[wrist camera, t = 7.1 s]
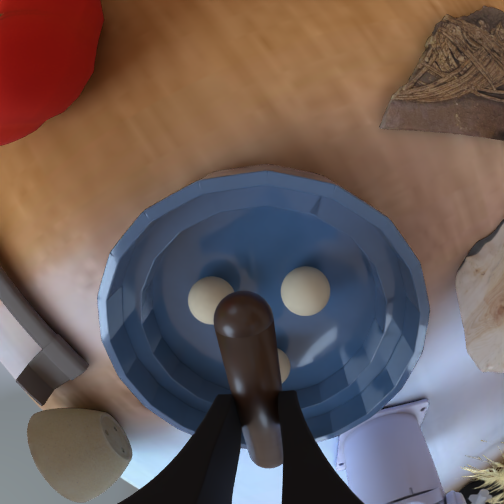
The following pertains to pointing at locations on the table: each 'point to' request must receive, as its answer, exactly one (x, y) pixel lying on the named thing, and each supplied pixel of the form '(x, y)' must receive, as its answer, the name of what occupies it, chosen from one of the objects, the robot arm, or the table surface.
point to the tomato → (44, 59)
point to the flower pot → (78, 450)
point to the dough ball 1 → (207, 297)
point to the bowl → (265, 295)
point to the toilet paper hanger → (53, 347)
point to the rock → (484, 301)
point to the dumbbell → (480, 492)
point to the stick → (252, 371)
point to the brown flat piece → (456, 80)
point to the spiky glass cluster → (497, 476)
